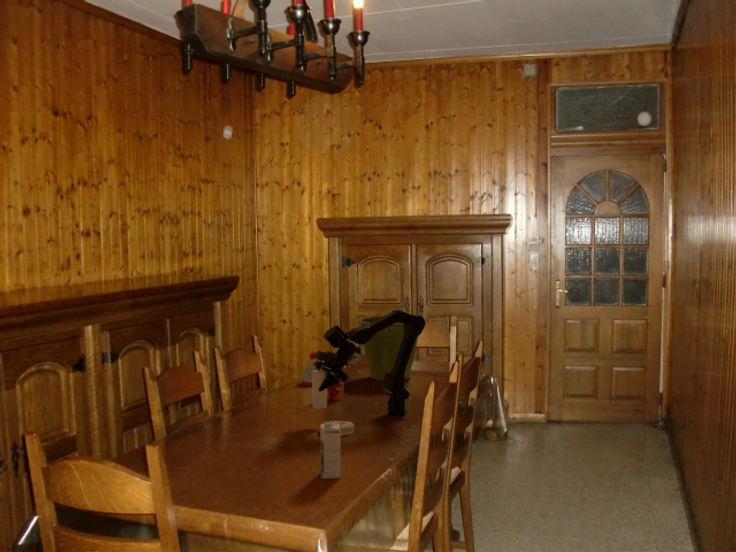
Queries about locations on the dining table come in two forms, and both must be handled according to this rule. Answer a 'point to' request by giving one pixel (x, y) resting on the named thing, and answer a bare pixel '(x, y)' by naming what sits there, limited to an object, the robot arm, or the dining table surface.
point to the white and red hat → (309, 370)
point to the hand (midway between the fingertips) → (316, 389)
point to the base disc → (343, 427)
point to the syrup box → (330, 451)
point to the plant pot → (385, 349)
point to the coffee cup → (336, 391)
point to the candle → (317, 396)
